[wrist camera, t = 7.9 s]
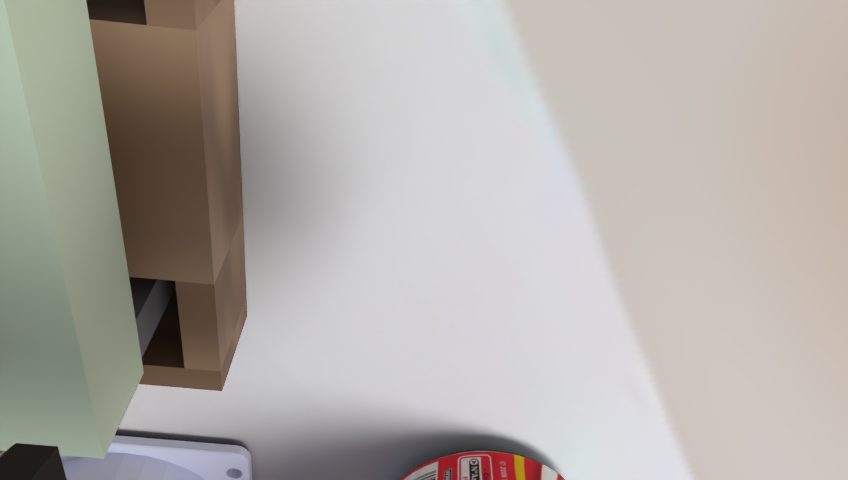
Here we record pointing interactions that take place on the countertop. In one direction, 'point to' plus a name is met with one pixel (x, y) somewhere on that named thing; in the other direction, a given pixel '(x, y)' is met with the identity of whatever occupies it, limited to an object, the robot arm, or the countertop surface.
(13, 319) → the green toy bench
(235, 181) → the post base
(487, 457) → the soda can
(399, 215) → the countertop surface
